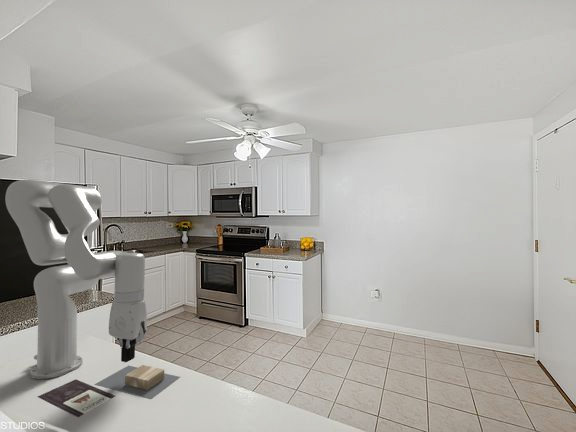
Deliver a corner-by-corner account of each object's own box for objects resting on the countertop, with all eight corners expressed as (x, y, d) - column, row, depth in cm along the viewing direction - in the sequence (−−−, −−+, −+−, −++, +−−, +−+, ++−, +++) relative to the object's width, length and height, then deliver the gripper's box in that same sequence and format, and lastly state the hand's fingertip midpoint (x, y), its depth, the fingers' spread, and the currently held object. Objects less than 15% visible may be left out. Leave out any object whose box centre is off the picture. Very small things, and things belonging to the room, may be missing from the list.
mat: (94, 386, 80) (94, 384, 80) (128, 367, 90) (128, 365, 90) (151, 401, 73) (151, 399, 73) (180, 378, 84) (180, 376, 84)
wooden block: (125, 375, 79) (147, 380, 77) (142, 364, 85) (164, 369, 82) (124, 385, 79) (147, 390, 77) (142, 374, 85) (164, 379, 82)
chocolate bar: (75, 379, 82) (116, 395, 75) (75, 382, 82) (116, 399, 75) (37, 396, 74) (78, 417, 66) (37, 400, 74) (78, 421, 66)
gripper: (98, 296, 82) (96, 361, 82) (138, 302, 77) (137, 371, 77) (121, 290, 89) (120, 350, 89) (159, 295, 84) (158, 358, 84)
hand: (127, 359), depth 83 cm, fingers closed
